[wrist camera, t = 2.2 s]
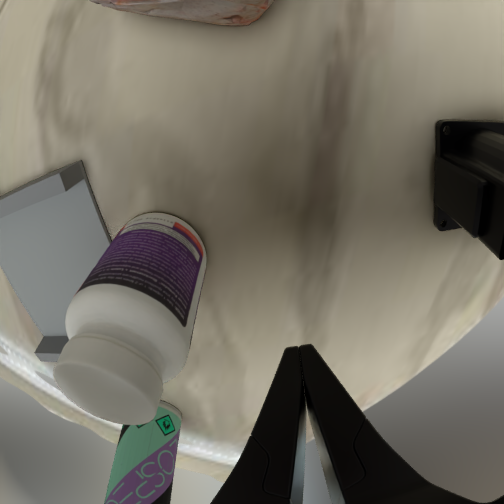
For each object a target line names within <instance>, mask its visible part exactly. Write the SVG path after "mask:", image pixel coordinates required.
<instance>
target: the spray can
mask: <svg viewBox="0 0 504 504" xmlns="http://www.w3.org/2000/svg"><path fill="white" fill-rule="evenodd" d="M181 419H182V415H181V413H180V411H179V410H178V409H177V408H175V407H174V406H172V405H170V404H169V403H166V402H164V401H161V400H160V402H159V405H158V409H157V412H156V415H155V417H154V418H153V420H151V421H150V422H148V423H145V424H141V425H124V424H123V426H122V430H121V434H120V438H119V442H118V446H117V450H116V454H115V458H114V462H113V466H112V470H111V475H110V479H109V484H108V489H107V493H106V498H105V503H104V504H170V500H171V492H172V484H173V476H174V469H175V461H176V454H177V447H178V440H179V434H180V427H181Z"/></svg>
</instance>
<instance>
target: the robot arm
mask: <svg viewBox="0 0 504 504" xmlns="http://www.w3.org/2000/svg"><path fill="white" fill-rule="evenodd" d="M445 126H446V128H447V130H446V132H445V133H444V131H443V129H444V127H445ZM434 203H435V212H434V225H435V227H436V228H437V229H438V230H440V231H446V230H452V229H457V228H463V229H464V230H465V231H467V232H468V233H469V234H470V235H471V236H472V237H473V238H478V239H479V240H480V241H481V242H482V243H483V244H484V245H485V246H486V247H488V248H489V249H490V250H491V251H492V252H493V253H494V254H495V255H496V256H497V257H498V258H499V259H500V260H504V122H500V121H480V120H441V121H439V122H438V123H437V125H436V161H435V189H434ZM442 220H444V221H443V223H442V224H440V223H441V221H442ZM299 352H300V353H299ZM300 360H301V361H300ZM301 367H302V368H301ZM302 375H303V376H302ZM303 382H304V383H303ZM304 390H305V391H304ZM305 398H306V399H305ZM306 405H307V410H308V415H309V418H310V422H311V426H312V430H313V434H314V437H315V441H316V445H317V449H318V453H319V456H320V460H321V464H322V468H323V472H324V476H325V480H326V484H327V487H328V492H329V495H330V499H331V503H332V504H504V495H503V496H501V497H499V498H497V499H495V500H494V501H492V502H488V503H479V502H475V501H472V500H469V499H467V498H464V497H462V496H460V495H457V494H455V493H452V492H450V491H448V490H445V489H443V488H441V487H439V486H436V485H434V484H432V483H430V482H429V481H427V480H426V479H424V478H423V477H422V476H421V475H420V474H418V473H417V472H416V471H415V470H414V469H413V468H412V467H411V466H410V465H409V464H408V463H407V462H406V461H405V460H404V459H403V458H402V457H401V456H400V455H398V454H397V453H396V452H395V451H394V450H393V449H392V447H391V446H389V444H388V443H387V442H386V441H385V440H384V439H383V438H382V437H381V435H380V434H379V433H378V432H377V430H376V429H375V428H374V427H373V426H372V424H371V423H370V421H369V420H368V419H366V416H365V415H364V414H363V412H362V411H361V410H360V408H359V407H358V406H357V404H356V403H355V401H354V400H353V399H352V397H351V396H350V395H349V393H348V392H347V391H346V389H345V388H344V387H343V385H342V384H341V383H340V381H339V380H338V379H337V377H336V376H335V375H334V373H333V372H332V371H331V369H330V368H329V366H328V365H327V364H326V362H325V361H324V360H323V358H322V357H321V356H320V354H319V353H318V352H317V350H316V349H315V348H314V346H313V345H312V344H306V345H301V346H299V347H298V346H293V347H287V348H286V349H285V350H284V353H283V356H282V358H281V361H280V363H279V366H278V369H277V371H276V374H275V376H274V379H273V381H272V384H271V387H270V389H269V392H268V394H267V397H266V399H265V401H264V404H263V406H262V409H261V411H260V414H259V416H258V418H257V421H256V423H255V426H254V428H253V430H252V433H251V436H250V437H249V439H248V442H247V444H246V446H245V448H244V450H243V452H242V454H241V456H240V458H239V460H238V462H237V464H236V465H235V467H234V469H233V470H232V472H231V474H230V475H229V477H228V478H227V480H226V481H225V483H224V484H223V486H222V487H221V489H220V490H219V492H218V493H217V495H216V496H215V498H214V499H213V500H212V502H211V503H210V504H302V503H303V488H304V470H305V469H304V468H305V445H306Z"/></svg>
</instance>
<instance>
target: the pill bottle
mask: <svg viewBox="0 0 504 504" xmlns="http://www.w3.org/2000/svg"><path fill="white" fill-rule="evenodd" d="M206 262H207V259H206V251H205V248H204V245H203V243H202V241H201V239H200V237H199V236H198V234H197V233H196V232H195V231H194V229H193V228H192V227H191V226H189V225H188V224H187V223H186V222H184V221H183V220H181V219H179V218H177V217H175V216H172V215H169V214H164V213H147V214H143V215H140V216H137V217H135V218H133V219H132V220H130V221H129V222H128V223H127V224H126V225H125V226H124V227H123V228H122V229H121V230H120V231H119V233H118V234H117V235H116V237H115V238H114V240H113V241H112V242H111V244H110V245H109V247H108V248H107V249H106V251H105V252H104V254H103V255H102V257H101V258H100V259H99V261H98V262H97V264H96V265H95V267H94V268H93V269H92V271H91V272H90V274H89V275H88V277H87V278H86V280H85V281H84V282H83V284H82V285H81V287H80V288H79V290H78V291H77V293H76V294H75V295H74V297H73V299H72V301H71V303H70V305H69V307H68V309H67V313H66V319H65V326H66V332H67V336H68V338H69V341H68V342H67V343H66V345H65V346H64V348H63V350H62V352H61V354H60V357H59V359H58V361H57V363H56V365H55V367H54V370H53V377H54V380H55V382H56V384H57V386H58V388H59V389H60V390H61V392H62V393H63V394H64V395H65V396H66V397H67V398H68V399H69V400H71V401H72V402H73V403H74V404H76V405H77V406H78V407H80V408H82V409H83V410H85V411H86V412H88V413H90V414H92V415H94V416H96V417H99V418H102V419H105V420H107V421H111V422H114V423H118V424H124V425H141V424H145V423H148V422H150V421H151V420H153V418H154V417H155V415H156V412H157V409H158V405H159V402H160V398H161V396H162V393H163V383H166V382H168V381H170V380H171V379H173V378H174V377H176V376H177V375H178V374H179V373H180V372H181V370H182V369H183V367H184V365H185V363H186V360H187V357H188V353H189V349H190V345H191V339H192V334H193V329H194V324H195V319H196V314H197V309H198V304H199V299H200V294H201V289H202V285H203V280H204V276H205V270H206Z"/></svg>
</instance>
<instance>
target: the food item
mask: <svg viewBox="0 0 504 504" xmlns="http://www.w3.org/2000/svg"><path fill="white" fill-rule="evenodd" d="M90 1H91V2H94V3H96V4H101V5H102V6H104V7H110V8H113V9H116V10H120V11H128V12H134V13H139V14H144V15H149V16H157V17H167V18H175V19H183V20H192V21H199V22H206V23H212V24H218V25H237V26H238V25H249V24H250V23H252V22H254V21H256V20H258V19H259V17H260V16H261V15H262V14H263V13H264V12H265V11H266V10H267V9H268V8H269V7H270V5H271V4H272V2H273V1H274V0H90Z"/></svg>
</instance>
